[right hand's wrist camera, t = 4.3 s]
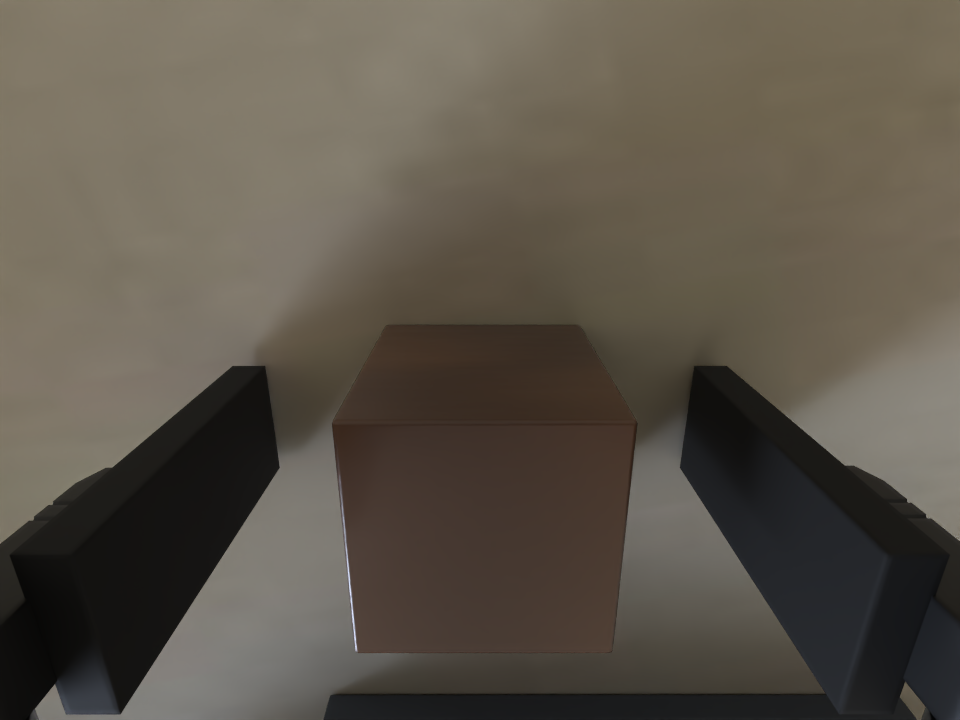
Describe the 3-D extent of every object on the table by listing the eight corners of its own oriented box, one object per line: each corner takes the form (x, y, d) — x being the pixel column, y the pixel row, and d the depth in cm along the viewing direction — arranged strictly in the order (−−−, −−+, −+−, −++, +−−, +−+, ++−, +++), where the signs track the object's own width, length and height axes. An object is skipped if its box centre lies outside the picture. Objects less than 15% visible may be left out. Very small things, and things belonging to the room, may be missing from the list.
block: (580, 324, 13) (639, 421, 8) (569, 491, 14) (613, 655, 10) (385, 324, 13) (330, 421, 8) (395, 491, 14) (354, 655, 10)
